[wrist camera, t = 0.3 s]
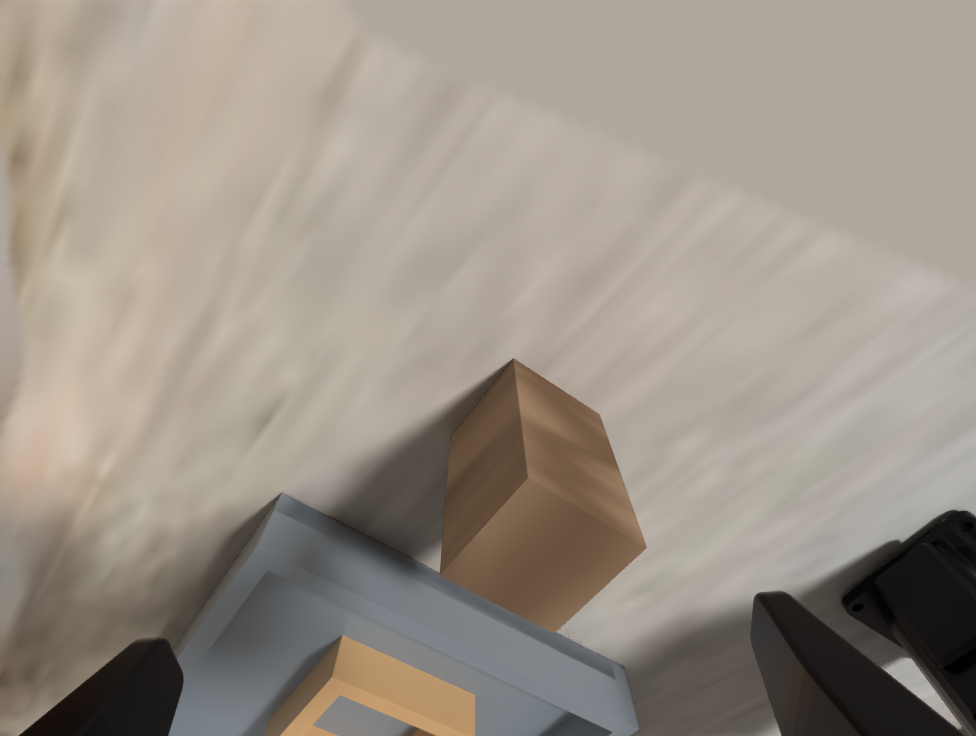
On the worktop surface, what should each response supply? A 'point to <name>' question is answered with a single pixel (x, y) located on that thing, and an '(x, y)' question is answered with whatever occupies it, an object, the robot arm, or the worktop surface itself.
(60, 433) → the worktop surface
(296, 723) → the box
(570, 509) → the brown rectangular block
